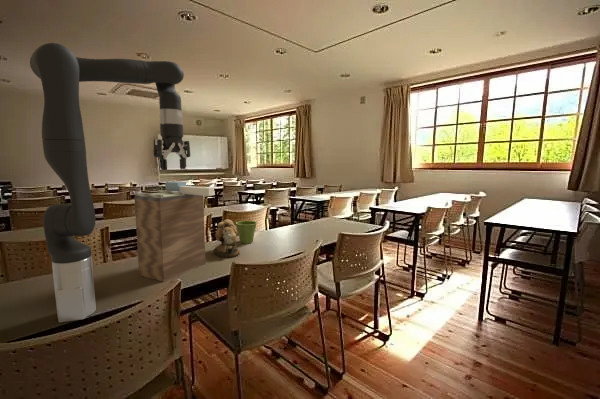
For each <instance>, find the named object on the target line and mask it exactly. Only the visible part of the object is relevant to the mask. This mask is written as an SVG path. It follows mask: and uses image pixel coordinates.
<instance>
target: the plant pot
mask: <svg viewBox="0 0 600 399" xmlns="http://www.w3.org/2000/svg"><path fill="white" fill-rule="evenodd" d="M257 224H258V222H257V221H255V220H240V221H236V222H235V225H236V227H237V233H238V237H239V238H238V239H239V242H240V243H241V244H252V243H253V242H254V238H255V231H256V227H257Z"/></svg>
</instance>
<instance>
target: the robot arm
mask: <svg viewBox="0 0 600 399" xmlns="http://www.w3.org/2000/svg"><path fill="white" fill-rule="evenodd" d="M29 65H30V69H31V71H32V72H33V74H34V75H35V76H36V77H37V78H38V79H40V81H41V86H42V90H43V98H44V99H43V113H42V121H41V142H42V149H43V156H44V159H45V161H46V162H47V164H48V165H49V167H50V168H51V169H52V170H53V172H54V174H56V175H57V176H58V177H59V179H60V180H61V181H62V183H63V184H64V185H65V187H66V189H67V191H68V192H67V193H68V195H69V200H70V203H56V204H52V205H49V206H48V207H47V208H46V210H45V211H44V214H43V218H42V221H43V222H42V224H43V225H42V226H43V231H44V232H43V233H44V237H45V244H46V249H47V252H48V254H49V256H50V257H51V258H50V259H51V265H52V266H51V268H52V277H53V287H54V296H55V305H56V307H55V308H56V314H57V320H58V323H66V322H73V321H74V322H75V321H79V320H84V319H86V318H87V317H89V316H90V315H92V314H93V313H95V312H96V311H97V306H96V295H95V294H96V293H95V292H96V291H95V282H94V268H93V258H92V257H93V256H92V248H91V246H90V245H87V244H85V243H82V242H81V241H79V240H77V239H76V238H74V237H84V236H89V235H91V234H92V233H93V231H94V229H95V226H96V212H95V205H94V201H93V196H92V192H91V187H90V181H89V174H88V173H89V172H88V163H87V161H88V160H87V149H86V147H87V146H86V140H85V138H86V137H85V131H84V125H83V124H84V123H83V118H82V113H81V112H82V111H81V107H80V83H81V82H82V83H83V82H107V83H108V82H109V83H122V84H133V85H135V84H136V85H137V84H139V85H150V84H154V83H155V86H156V87H155V88H156V92H157V95H158V98H159V99H158V100H159V101H158V102H159V103H158V104H159V114H158V116H159V133H160V137H161V139H159V138H156V139H153V157H154V158H158V159H159V168H160V169H161V171H168V159H167V157H168V155H170V154H171V153H175V154H176V155H178V157H179V169H181V170H186V168H187V159H188V158H191V148H190V141H189V140H183V138H184V122H183V121H184V118H183V112H182V99H181V95H180V94H179V93H177V92H176V87H175V86H176V85H178V84H180V83H181V82H183V80H184V77H185V74H184V71H183V70H184V69H183V68H182V67H181V66H180V65H179V64H178V63H177V62H174V61H169V60H167V61H165V60H159V61H158V60H157V61H156V60H153V61H152V60H151V61H149V60H148V61H147V60H140V59H133V58H131V59H130V58H87V57H85V58H83V57H78V56H75V54H74V53H73V52H72V51H71V50H70V49H69V48H68V47H66V46H64V45H63V44H60V43H55V42H48V43H44V44H41V45H40V46H38V47H37V48H36V49H35V50H34V52H33V53H31V56H30V59H29Z"/></svg>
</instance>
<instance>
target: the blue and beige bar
mask: <svg viewBox="0 0 600 399" xmlns="http://www.w3.org/2000/svg"><path fill="white" fill-rule="evenodd" d="M165 191H177V192H184V194H192V195H203V197H211V196H215V188H214V187H208V186H207V187H206V186H193V185H192V186H191V185H187V182H186V181H176V180H175V181H165Z"/></svg>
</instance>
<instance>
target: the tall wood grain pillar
mask: <svg viewBox="0 0 600 399" xmlns="http://www.w3.org/2000/svg"><path fill="white" fill-rule="evenodd" d="M134 211H135V226H136V229H135V230H136V243H137V245H136V246H137V259H138V260H137V262H138V274H139V276H141V277H144V278H149V279H153V280H157V281H160V282H166V281H169V280H171V279H174V278H176V277H179V276H180V275H183V274H185V273H187V272H190V271H192V270H194V269H196V268H198V267H201V266H203V265H206V241H205V238H206V237H205V234H206V233H205V205H204V196H203V195H192V194H184V192H177V191H166V189H165V190H163V189H158V190H157V192H153V193H150V192H149V193H148V192H139V191H138V192H135V195H134Z"/></svg>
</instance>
